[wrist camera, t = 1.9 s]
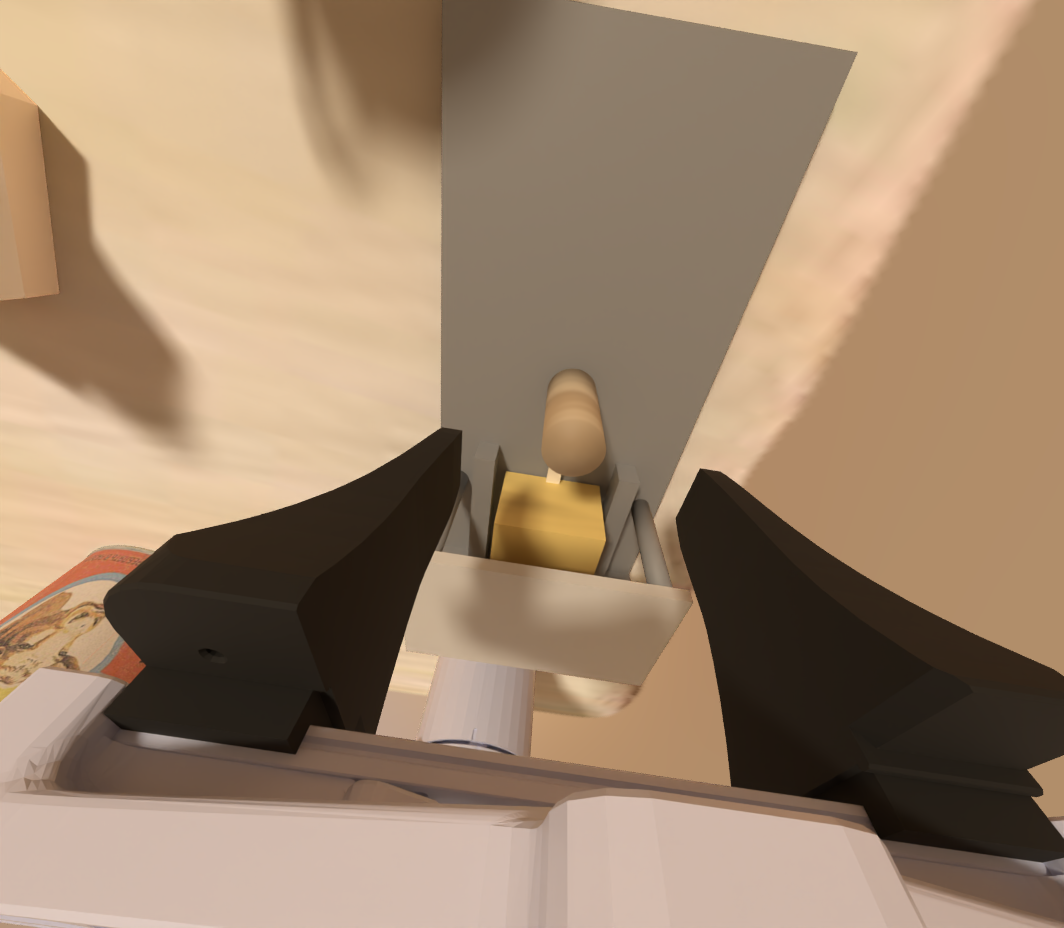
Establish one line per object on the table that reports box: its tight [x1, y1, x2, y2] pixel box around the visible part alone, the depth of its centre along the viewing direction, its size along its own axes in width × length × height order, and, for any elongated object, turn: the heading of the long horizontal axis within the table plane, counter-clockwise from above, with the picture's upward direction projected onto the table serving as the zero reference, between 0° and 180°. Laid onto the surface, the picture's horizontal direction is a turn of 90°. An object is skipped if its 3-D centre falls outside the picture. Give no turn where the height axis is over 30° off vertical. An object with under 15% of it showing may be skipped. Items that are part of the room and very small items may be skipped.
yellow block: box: [490, 369, 606, 575], centre depth 18 cm, size 12×5×5 cm, turn 172°
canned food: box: [0, 546, 155, 702], centre depth 26 cm, size 11×11×12 cm
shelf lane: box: [405, 0, 858, 686], centre depth 15 cm, size 24×12×7 cm, turn 172°
